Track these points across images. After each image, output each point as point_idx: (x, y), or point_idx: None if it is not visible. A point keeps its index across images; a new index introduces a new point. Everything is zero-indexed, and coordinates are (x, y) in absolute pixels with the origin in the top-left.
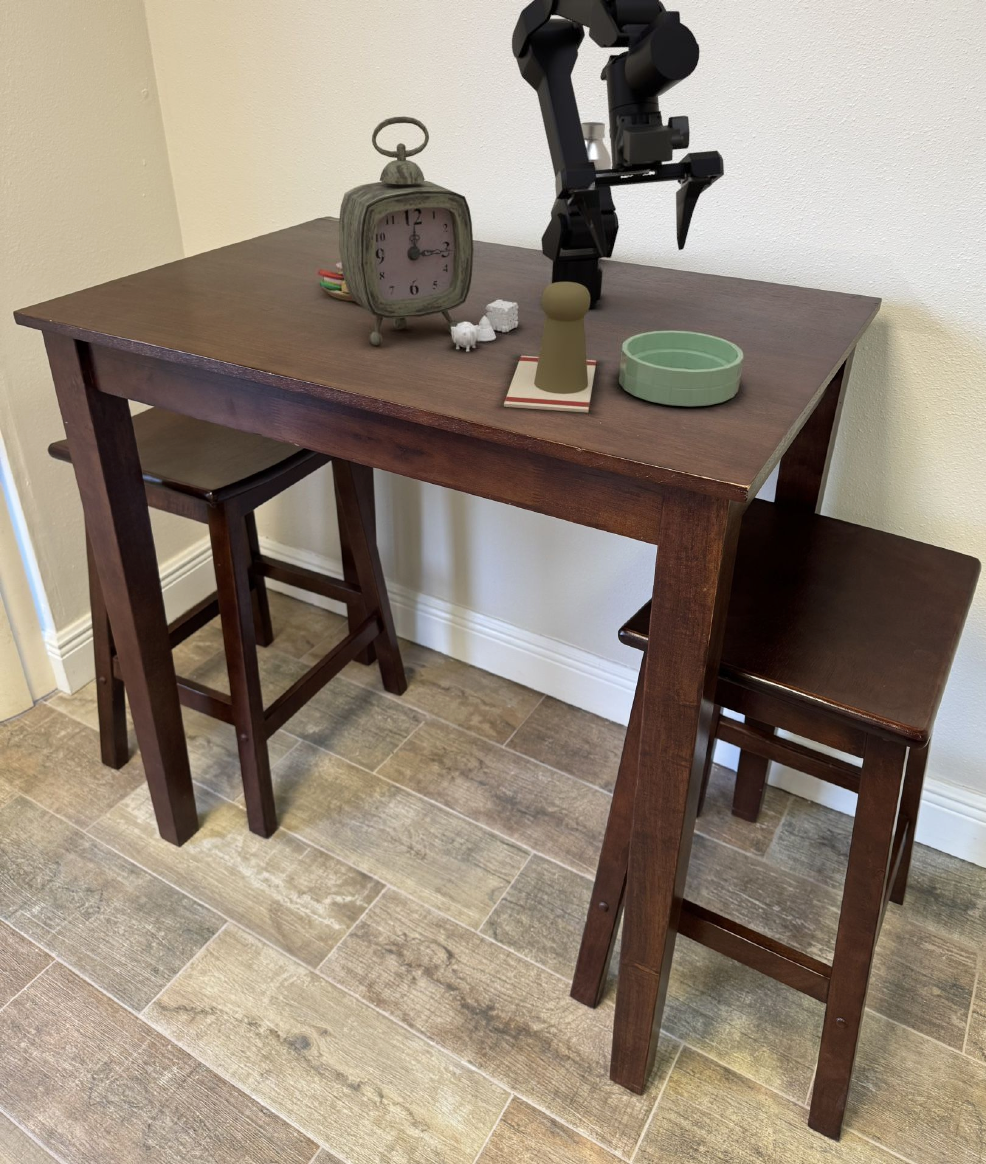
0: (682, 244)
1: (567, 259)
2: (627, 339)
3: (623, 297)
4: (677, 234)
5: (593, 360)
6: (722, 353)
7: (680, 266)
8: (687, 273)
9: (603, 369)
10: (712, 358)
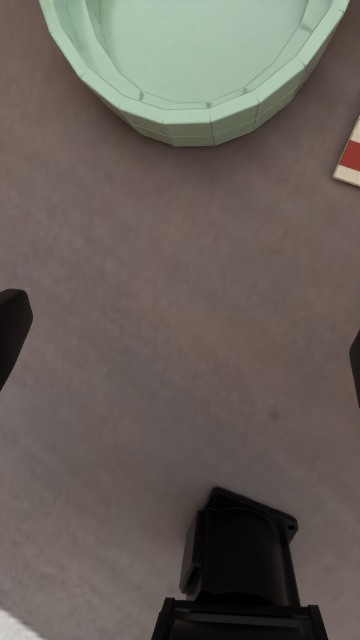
0: (8, 293)
1: (282, 606)
2: (316, 48)
3: (141, 528)
4: (2, 368)
5: (340, 175)
6: (69, 24)
7: (6, 632)
8: (3, 602)
9: (328, 138)
10: (95, 37)
